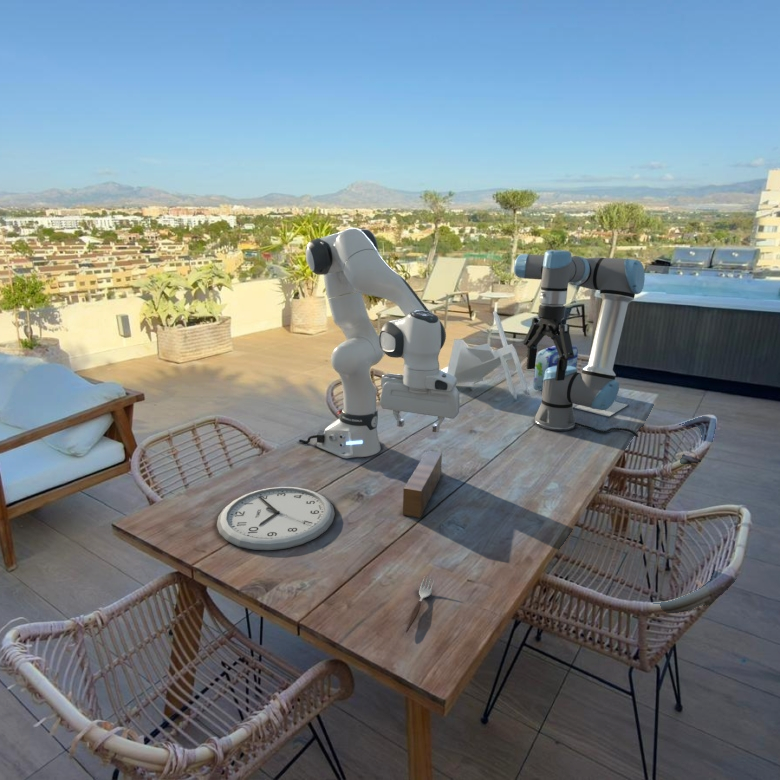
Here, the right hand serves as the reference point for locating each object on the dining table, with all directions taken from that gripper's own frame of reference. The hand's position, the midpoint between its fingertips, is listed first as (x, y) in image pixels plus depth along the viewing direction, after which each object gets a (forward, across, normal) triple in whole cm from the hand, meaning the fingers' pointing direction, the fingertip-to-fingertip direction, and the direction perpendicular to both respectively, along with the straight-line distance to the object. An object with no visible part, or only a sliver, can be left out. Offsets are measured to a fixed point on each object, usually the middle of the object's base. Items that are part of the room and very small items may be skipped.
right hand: (544, 374), depth 160 cm
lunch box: (+31, -65, +62) cm, 95 cm away
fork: (+31, +46, -64) cm, 85 cm away
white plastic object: (+31, -73, +26) cm, 83 cm away
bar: (+31, +4, -42) cm, 52 cm away
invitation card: (+31, -37, +64) cm, 80 cm away
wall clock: (+31, +1, -84) cm, 89 cm away
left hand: (+7, +11, -48) cm, 50 cm away
